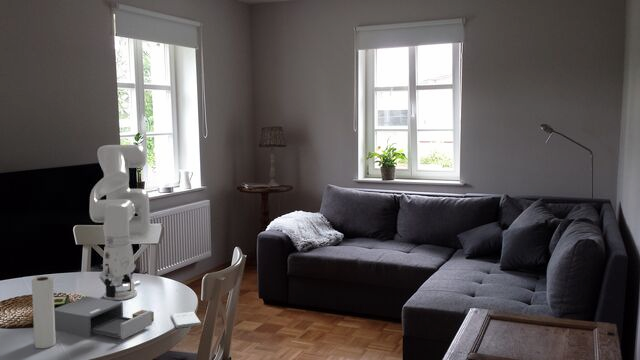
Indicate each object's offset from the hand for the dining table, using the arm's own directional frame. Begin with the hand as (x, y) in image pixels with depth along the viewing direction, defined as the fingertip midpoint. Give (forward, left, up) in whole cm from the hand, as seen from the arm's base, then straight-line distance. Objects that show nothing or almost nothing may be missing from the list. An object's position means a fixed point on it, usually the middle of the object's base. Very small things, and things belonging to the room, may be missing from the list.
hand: (118, 293), depth 195 cm
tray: (0, -1, -12) cm, 12 cm away
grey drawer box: (0, -14, -13) cm, 19 cm away
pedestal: (-10, +1, -13) cm, 17 cm away
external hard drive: (-18, +13, -14) cm, 26 cm away
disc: (0, 0, +1) cm, 1 cm away
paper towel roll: (+18, -14, -13) cm, 26 cm away
